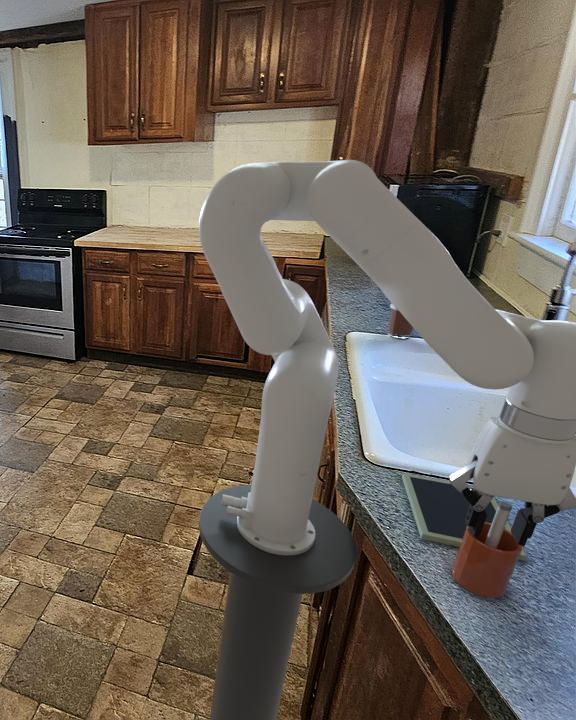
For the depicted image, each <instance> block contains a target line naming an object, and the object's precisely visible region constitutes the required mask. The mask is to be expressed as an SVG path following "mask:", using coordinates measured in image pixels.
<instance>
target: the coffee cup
mask: <svg viewBox="0 0 576 720" xmlns="http://www.w3.org/2000/svg"><path fill="white" fill-rule="evenodd" d="M389 308H390V309H391V312H390V318H389V326H388V333H387V336H388V337H390V336H396V335H392V334H390V333H393V334H397V335H410V336H408V337H411V335H412V333H413V329H414V328H413V327H412V325H411V324H410V323H409V322H408V321H407V320H406V318H405V317H404V316H403V315H402V314H401V312H400V311H399V310H398V309H397V308H396V307H395V306H394V305H393V304H392V303H391V302H390V304H389ZM389 332H390V333H389ZM398 337H402V336H398Z"/></svg>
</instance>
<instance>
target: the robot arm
mask: <svg viewBox="0 0 576 720" xmlns="http://www.w3.org/2000/svg"><path fill="white" fill-rule="evenodd" d="M269 221H294V222H295V221H299V222H301V221H302V222H316V224H317V225H318V226H319V227H320V228H321V229H322V230H323V231H324V232H325V233H326V234H327V235H328V236H329V238H331V239H332V240H333V242H335V244H337V245H338V246H339V248H341V249H342V250H343V252H344V253H345V254H346V255H348V256H349V258H351V259H352V261H354V262H355V264H356V265H357V266H359V268H360V269H361V270H362V271H363V273H365V274H366V275H367V276H368V277H369V278H370V279H371V280H372V281H373V283H374V284H375V285H376V286H377V287H378V288H379V289H380V291H381V292H382V293H383V295H384V297H386V299H387V300H388V301H389V303H390V304H391V303H392V304H393V305H394V306H395V307H396V308H397V309H398V310H399V311H400V312H401V314H402V315H403V316H404V317H405V318H406V320H407V321H408V322H409V323H410V324H411V325H412V327H413V329H414V331H416V333H417V334H418V335H419V336H420V337H421V338H422V339H423V341H424V342H425V343H426V344H427V345H428V346H429V347H430V348H431V350H432V351H434V352H435V354H437V355H438V356H439V357H440V358H441V359H442V361H444V362H445V363H446V364H447V365H448V366H449V368H451V369H452V371H453V372H455V373H456V375H457V376H459V377H460V378H461V379H463V380H464V381H465V382H467V383H468V384H470V385H471V386H474V387H477V388H480V389H485V390H492V391H493V390H503V389H504V390H505V389H508V390H507V393H506V397H505V399H504V402H503V405H502V407H501V410H500V414H499V415H492V416H491V417H490V418H489V419H488V421H487V422H486V424H485V425H484V427H483V429H482V430H481V432H480V433H479V436H478V438H477V439H476V440H475V443H474V445H473V448H472V450H471V452H470V455H469V457H468V459H467V462H466V465H465V466H464V467H462V468H460V469H459V470H457V471H455V472H454V473H452V474H450V475H449V476H448V481H449V482H450V483H451V485H452V486H453V487H455V488H456V489H457V490H458V491H459V492H461V493H462V494H463V496H464V497H465V498H466V499H467V500H468V502H469V503H470V506H469V509H468V511H467V514H466V517H465V523H466V525H467V526H469V528H470V530H471V533H472V535H473V536H477V537H478V536H480V534H481V531H482V528H483V526H484V523H485V520H486V517H487V513H486V511H485V508H486V506H487V505H488V504H489V503H490V501H491V500H492V499H493V497H494V498H495V497H500V498H503V499H509V500H515V501H521V502H524V508H522V507H520V508H519V509H518V510H517V513H516V515H515V518H514V520H513V523H512V526H511V533H512V535H513V537H514V538H515V540H516V542H517V544H519V545H521V546H523V547H525V546H526V545H527V542H528V540H529V539H532V536H533V534H534V531H535V529H536V527H537V525H538V524H542V523H543V522H544V521H545V519H547V518H550V517H552V516H555V515H557V514H559V513H560V512H561V511H562V512H564V511H569V510H571V509H575V508H576V496H575V494H574V493H573V490H572V489H571V487H570V486H571V484H572V481H573V477H574V474H575V470H576V322H574V321H569V320H543V319H538V318H533V317H529V316H525V315H521V314H516V313H513V312H508V311H505V310H501V309H497V308H496V309H495V308H494V306H493V305H492V304H490V302H489V301H488V299H486V298H485V297H484V296H483V295H482V294H481V293H480V292H479V291H478V290H477V288H476V287H475V286H474V285H473V284H472V283H471V281H470V280H469V279H468V278H467V277H466V276H465V275H464V273H463V272H462V271H461V269H460V267H458V265H457V264H456V262H455V261H454V259H453V257H452V255H451V254H450V252H449V251H448V250H447V248H446V247H445V245H444V244H443V243H442V242H441V240H440V239H439V238H438V237H437V236H436V235H435V233H433V232H432V231H431V230H430V229H429V228H428V227H427V226H426V225H425V224H424V223H423V222H422V221H421V220H420V219H419V218H418V217H417V216H416V215H414V213H412V211H410V209H409V208H408V207H407V206H406V205H405V204H404V203H402V201H401V200H400V199H398V197H396V195H395V194H394V193H393V192H392V191H390V189H389V188H388V187H387V186H386V185H385V184H384V183H383V182H382V181H381V180H380V179H379V178H378V177H377V175H376V173H375V171H374V170H373V169H372V168H371V167H370V166H369V165H368V164H367V163H364V162H363V161H359V160H357V159H341V160H325V161H324V160H323V161H262V162H260V161H259V162H251V163H250V162H249V163H245V164H241V165H238V166H235V167H234V168H233V169H230V170H229V171H228V172H226V173H225V174H224V175H222V176H221V177H220V179H218V181H217V182H216V183H215V184H214V186H213V187H212V188H211V190H210V191H209V192H208V194H207V196H206V198H205V200H204V201H203V205H202V207H201V211H200V215H199V220H198V236H199V243H200V246H201V250H202V252H203V255H204V258H205V260H206V262H207V263H208V265H209V268H210V270H211V272H212V274H213V276H214V278H215V280H216V282H217V284H218V285H219V286H218V287H219V289H220V292H221V294H222V296H223V298H224V301H225V303H226V304H227V307H228V308H229V311H230V313H231V315H232V317H233V319H234V321H235V324H236V326H237V328H238V330H239V332H240V335H241V337H242V339H243V340H244V341H245V343H246V344H247V346H249V347H250V348H251V349H252V350H253V351H255V352H256V353H258V354H261V355H265V356H271V357H272V359H273V361H274V364H273V365H272V368H271V369H270V371H269V373H268V375H267V378H266V380H265V383H264V386H263V390H262V395H261V411H260V423H259V431H258V437H257V444H256V445H257V447H256V453H255V460H254V466H253V472H252V473H253V474H252V481H251V485H252V486H251V492H249V493H248V498H246V497H242V499H240V498H236V497H233V496H228V495H223V497H222V504H221V505H222V506H227V507H228V509H227V514H229V515H233V516H234V515H235V516H238V517H237V526H238V529H239V531H240V533H241V535H242V536H243V537H244V538H245V539H246V540H247V541H248V542H249V543H251V544H252V545H254V546H255V547H257V548H259V549H261V550H263V551H266V552H269V553H272V554H277V555H284V556H288V555H298V554H301V553H304V552H306V551H308V550H309V549H310V548H311V547H312V546H313V544H314V541H315V535H316V534H315V529H314V527H313V525H312V523H311V522H310V520H309V519H308V518H309V513H310V508H311V503H312V499H314V492H315V487H316V484H317V478H318V473H319V467H320V464H321V459H322V458H321V457H322V454H323V453H322V452H323V448H324V443H325V438H326V432H327V428H328V423H329V419H330V415H331V411H332V407H333V402H334V399H335V392H336V389H337V383H338V378H339V373H340V362H339V358H338V354H337V352H336V349H335V347H334V345H333V343H332V341H331V338H330V336H329V334H328V332H327V330H326V328H325V325H324V323H323V321H322V319H321V316H320V314H319V313H318V310H317V308H316V307H315V304H314V302H313V300H312V298H311V297H310V295H309V293H308V292H307V290H305V288H303V287H302V286H301V284H298V283H296V282H295V281H292V280H290V279H286V278H283V276H282V274H281V273H280V271H279V268H278V267H277V263H276V261H275V259H274V257H273V255H272V253H271V251H270V250H269V248H268V247H267V244H265V241H264V240H263V236H262V228H263V226H264V225H265V224H266V223H267V222H269ZM470 480H473V483H472V486H473V487H474V488H473V489H472V488H471V487H470V486H469V485H470V484H468V483H467V482H469V481H470Z"/></svg>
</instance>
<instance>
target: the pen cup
mask: <svg viewBox="0 0 576 720" xmlns="http://www.w3.org/2000/svg"><path fill="white" fill-rule="evenodd" d="M491 525H492V524H491V523H488V522H485V523H484V526H483V528H482V531H481V534H480V536H478V537H477V536H473V535H472V533H471V530H470V528H469V526H467V527H466V530H465V533H464V536H463V539H462V541H461V544H460V547H458V549H457V553H456V556H455V559H454V562H453V565H452V568H451V574H452V578H453V579H454V580H455V581H456V582H457V584H458V585H460V586H461V587H462V588H464V589H466V590H467V591H468V592H470V593H472V594H475V595H477V596H481V597H484V598H488V599H497V598H500V597H502V596H504V594H505V592H506V590H507V588H508V586H509V583H510V581H511V578H512V576H513V574H514V572H515V571H514V570H515V569H516V566H517V564H518V561H519V560H518V559H519V556H520V554H521V551H522V548H524V546H521V545H519V544H517V542H516V540H515V538H514V537H513V535H512V533H511V532H509V531H508V530H506V529H504V530H503V533H502V535H501V538H500V541H499V543H498V546H497V548H496V549H494V548H491V547H489V546H487V545H485V541H486V538H487V535H488V533H489V530H490V527H491Z"/></svg>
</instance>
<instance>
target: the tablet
mask: <svg viewBox="0 0 576 720" xmlns="http://www.w3.org/2000/svg"><path fill="white" fill-rule="evenodd" d="M401 480H402V483H403V486H404V489H405V492H406V495H407V497H408V502H409V505H410V508H411V511H412V514H413V517H414V521H415V523H416V527H417V530H418V534H419V537H420V539H421V540H424V541H429V542H433V543H439V544H443V545H447V546H452V547H457V548H459V547H460V544H461V541H462V539H463V536H464V533H465V530H466V527H467V525H466V523H465V517H466V514H467V511H468V509H469V506H470V503H469V502H468V500H467V499H466V498H465V497H464V496H463V494H462V493H461V492H459V491H458V490H457V489H456V488H455V487H453V486H452V485H451V483H450V481H449V480H443V479H437V478H432V477H426V476H423V475H422V476H421V475H416V474H410V473H405V472H403V473H402V474H401ZM468 485H469V486H470V487H471V488H472V489H473V488H474V487H473V485H471V484H468ZM498 506H499V503H498V501H497V500H496V498H495V496H494V497H493V499H492V500H491V501H490V503H489V504H488V505H487V506H486V508H485V511H486V513H487V517H486V520H485V522H488V523H491V524H492V522H493V519H494V517H495V514H496V511H497V508H498ZM511 528H512V526H511V525H510V523H509V521H507V522H506V525H505V527H504V529H506V530H508V531H509V532H511ZM527 557H528V556H527V554H526V552H525V550H524V547H522V551H521V554H520V556H519V559H518V561H521V562H525V561H526V559H527Z"/></svg>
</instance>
